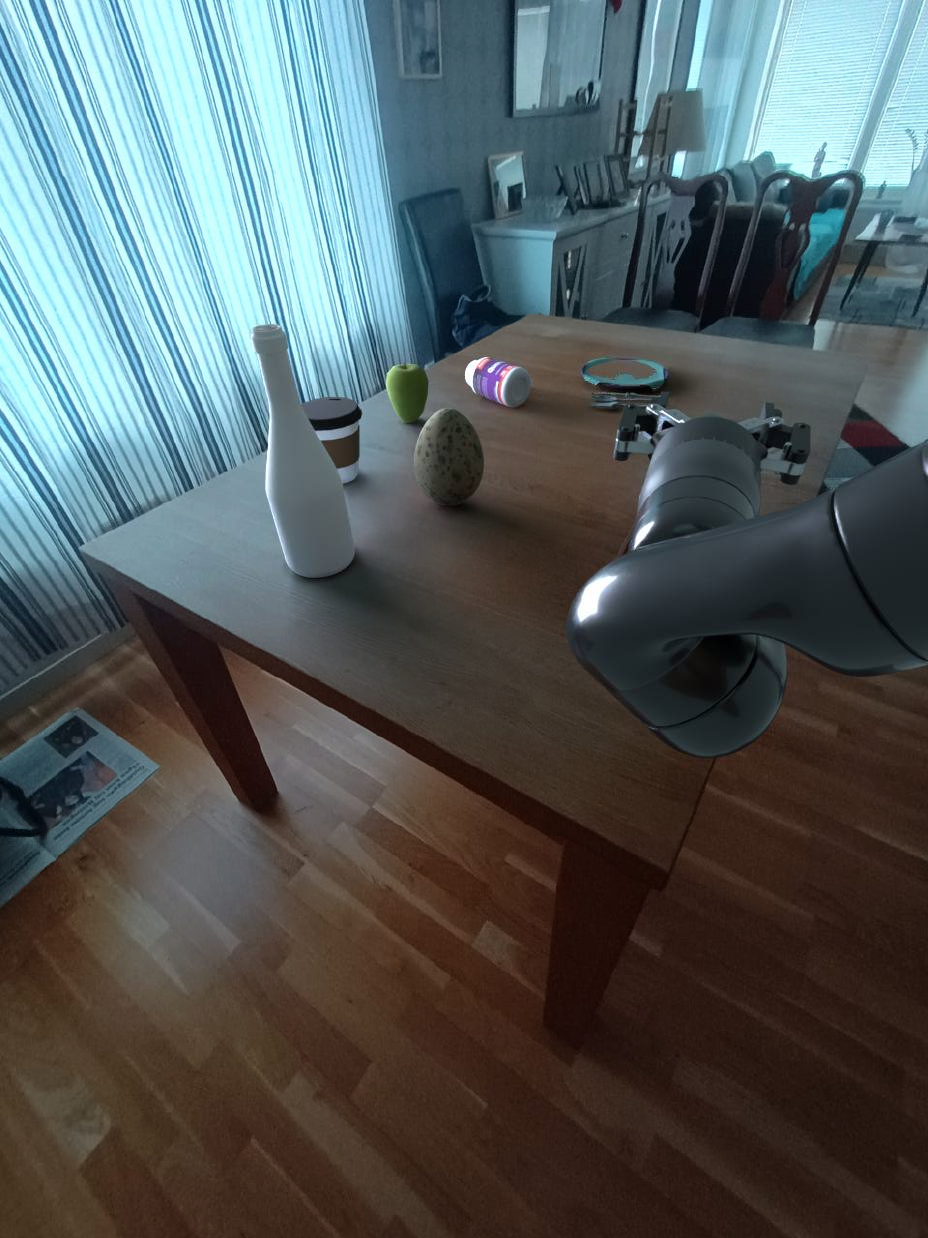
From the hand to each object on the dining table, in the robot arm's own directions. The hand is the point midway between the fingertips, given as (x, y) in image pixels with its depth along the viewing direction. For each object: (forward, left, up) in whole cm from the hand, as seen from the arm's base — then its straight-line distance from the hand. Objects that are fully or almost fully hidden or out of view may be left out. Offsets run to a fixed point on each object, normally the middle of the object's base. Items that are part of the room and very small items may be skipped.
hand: (712, 407), depth 49 cm
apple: (+59, -42, -26) cm, 77 cm away
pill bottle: (+41, -57, -22) cm, 73 cm away
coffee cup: (+58, -16, -26) cm, 66 cm away
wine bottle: (+45, +6, -26) cm, 52 cm away
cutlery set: (+24, -78, -26) cm, 85 cm away
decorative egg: (+36, -16, -26) cm, 47 cm away
